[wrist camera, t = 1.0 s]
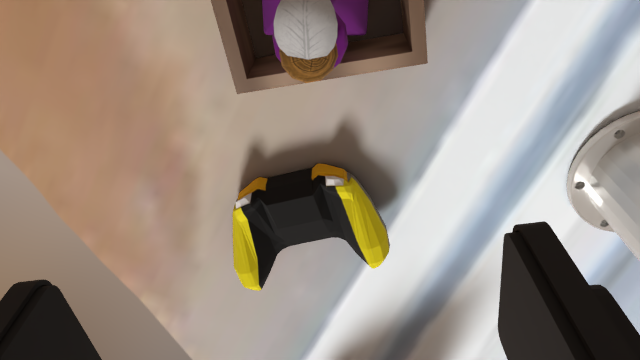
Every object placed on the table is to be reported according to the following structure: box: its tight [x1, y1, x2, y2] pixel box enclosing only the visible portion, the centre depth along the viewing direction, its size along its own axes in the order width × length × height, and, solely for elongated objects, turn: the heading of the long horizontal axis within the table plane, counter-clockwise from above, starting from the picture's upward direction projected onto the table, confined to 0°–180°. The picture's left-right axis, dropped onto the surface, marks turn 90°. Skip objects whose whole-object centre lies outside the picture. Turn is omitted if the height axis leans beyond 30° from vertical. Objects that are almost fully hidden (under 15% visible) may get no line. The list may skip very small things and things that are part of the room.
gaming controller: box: [233, 163, 390, 290], centre depth 45 cm, size 15×6×10 cm
